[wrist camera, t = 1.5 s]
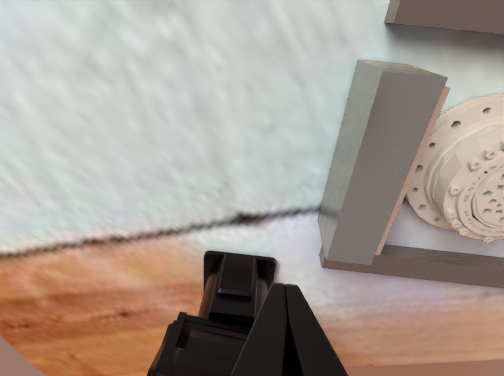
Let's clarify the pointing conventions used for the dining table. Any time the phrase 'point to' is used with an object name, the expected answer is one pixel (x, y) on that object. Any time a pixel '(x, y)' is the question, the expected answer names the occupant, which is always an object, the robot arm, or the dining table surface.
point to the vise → (423, 260)
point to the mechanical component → (464, 171)
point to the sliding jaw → (377, 156)
